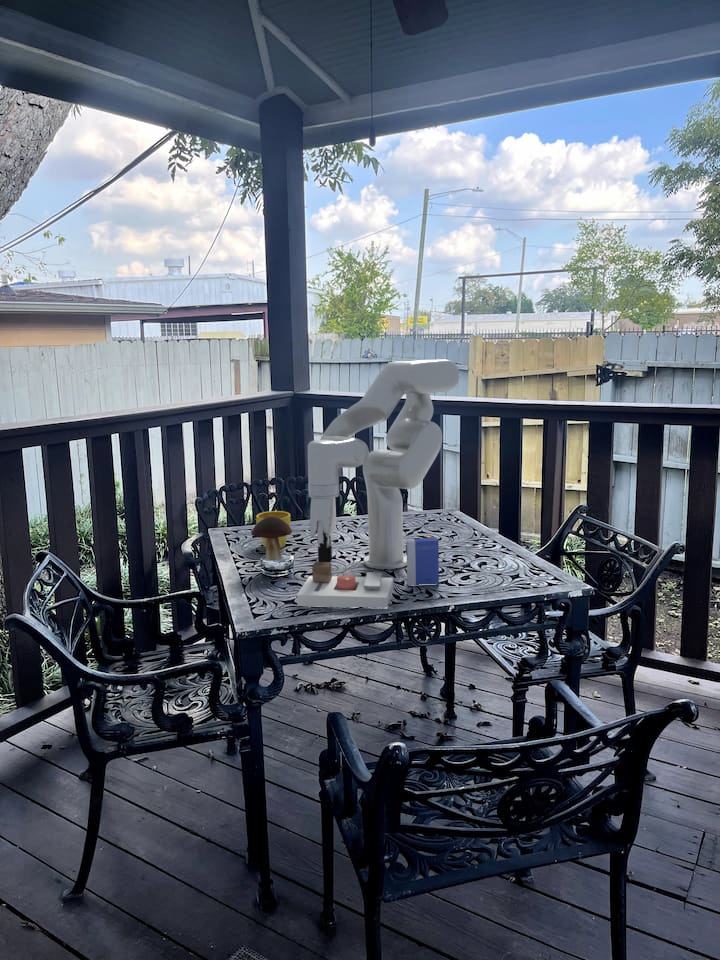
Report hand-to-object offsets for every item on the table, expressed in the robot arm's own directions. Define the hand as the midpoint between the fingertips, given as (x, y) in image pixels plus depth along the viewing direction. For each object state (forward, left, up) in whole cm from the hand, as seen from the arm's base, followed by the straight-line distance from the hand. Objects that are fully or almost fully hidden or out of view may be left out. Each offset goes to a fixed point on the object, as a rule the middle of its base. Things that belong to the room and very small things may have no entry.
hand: (325, 561), depth 165 cm
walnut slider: (+6, 0, -3) cm, 7 cm away
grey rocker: (+9, +13, -2) cm, 16 cm away
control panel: (+9, +7, -6) cm, 13 cm away
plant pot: (-32, -23, -6) cm, 39 cm away
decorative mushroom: (-10, -17, -6) cm, 20 cm away
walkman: (-2, +24, -6) cm, 25 cm away
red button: (+9, +7, -3) cm, 12 cm away
